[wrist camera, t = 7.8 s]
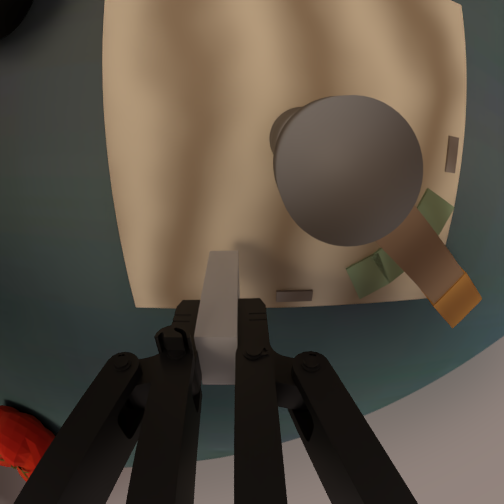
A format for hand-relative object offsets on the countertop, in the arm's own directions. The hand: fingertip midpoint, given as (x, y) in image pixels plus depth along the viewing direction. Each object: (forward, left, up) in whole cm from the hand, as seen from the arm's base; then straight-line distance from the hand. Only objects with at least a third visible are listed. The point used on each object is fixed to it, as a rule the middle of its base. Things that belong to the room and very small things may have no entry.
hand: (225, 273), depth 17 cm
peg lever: (+8, +3, -2) cm, 9 cm away
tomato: (-34, -30, -4) cm, 45 cm away
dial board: (+4, +7, -4) cm, 9 cm away
